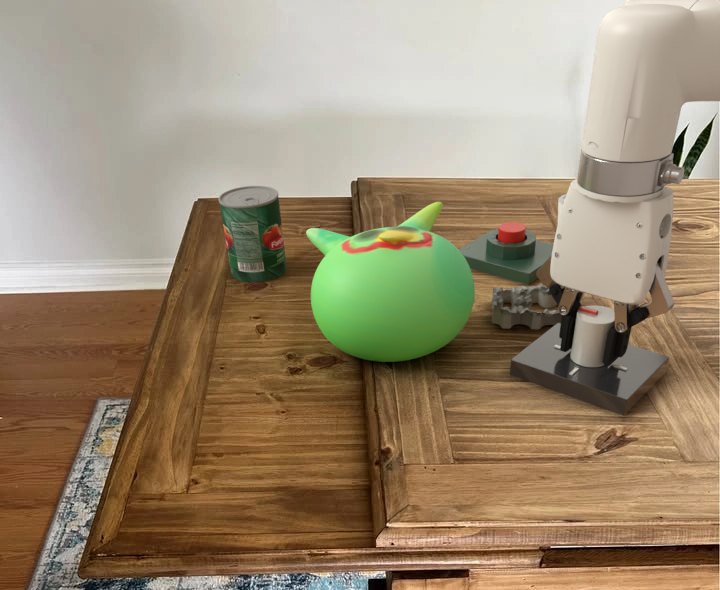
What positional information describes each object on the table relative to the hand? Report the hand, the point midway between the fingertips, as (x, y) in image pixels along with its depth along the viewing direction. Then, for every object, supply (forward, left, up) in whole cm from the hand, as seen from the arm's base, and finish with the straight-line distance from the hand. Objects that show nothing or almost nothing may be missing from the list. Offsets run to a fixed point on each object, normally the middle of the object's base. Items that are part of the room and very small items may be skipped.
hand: (590, 351), depth 76 cm
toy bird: (+21, +7, -4) cm, 22 cm away
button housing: (+22, -20, -3) cm, 30 cm away
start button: (+22, -20, 0) cm, 30 cm away
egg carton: (+11, -8, -4) cm, 14 cm away
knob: (0, 0, -1) cm, 1 cm away
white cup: (+17, -30, -4) cm, 35 cm away
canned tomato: (+49, +2, -4) cm, 49 cm away
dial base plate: (0, 0, -3) cm, 3 cm away
